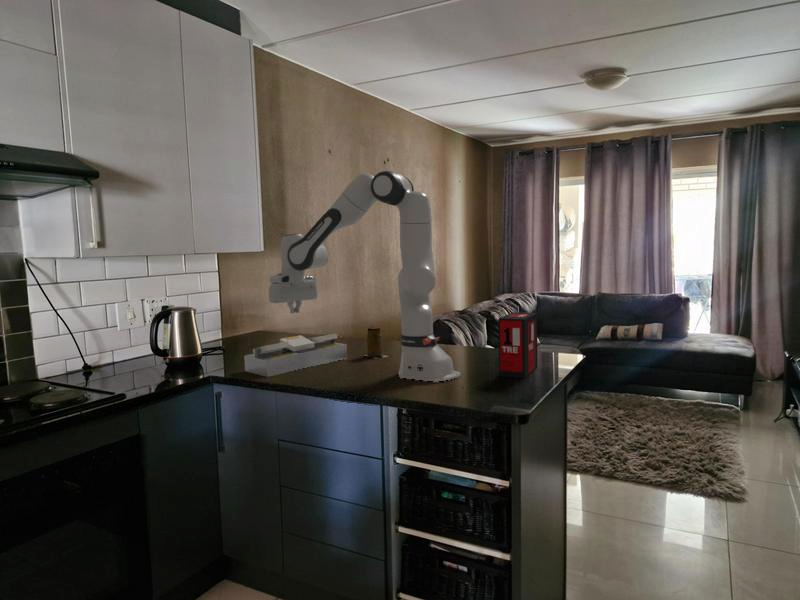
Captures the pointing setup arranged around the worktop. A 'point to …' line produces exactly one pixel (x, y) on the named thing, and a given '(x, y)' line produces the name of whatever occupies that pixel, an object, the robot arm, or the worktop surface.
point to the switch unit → (294, 358)
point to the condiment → (374, 343)
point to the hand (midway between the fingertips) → (294, 313)
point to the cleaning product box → (517, 344)
